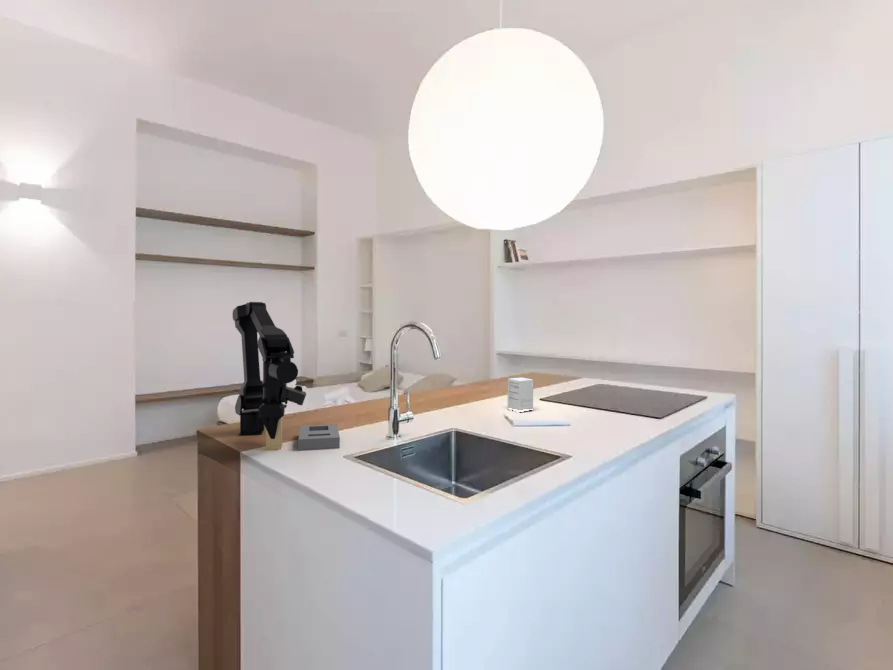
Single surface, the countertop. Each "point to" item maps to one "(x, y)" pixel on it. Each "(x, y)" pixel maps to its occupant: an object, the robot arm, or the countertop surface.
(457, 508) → the countertop surface
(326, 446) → the socket block
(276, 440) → the brass peg
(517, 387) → the supplement box
